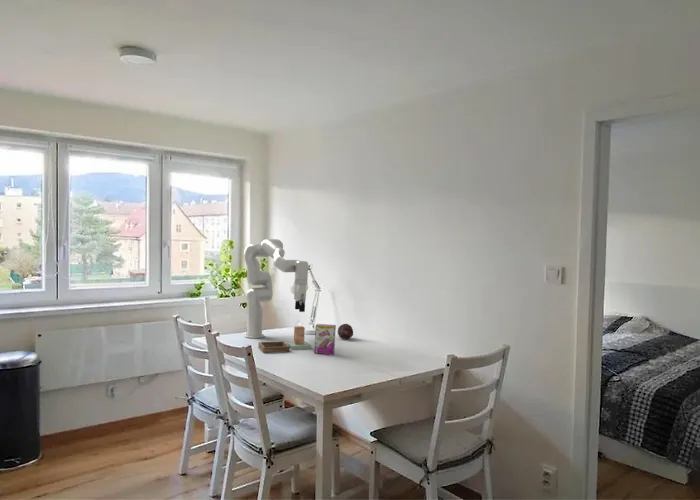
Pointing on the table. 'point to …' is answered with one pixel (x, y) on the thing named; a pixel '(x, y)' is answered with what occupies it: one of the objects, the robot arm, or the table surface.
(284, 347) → the brown wooden tray
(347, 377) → the table surface
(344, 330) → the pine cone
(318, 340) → the candy bar box
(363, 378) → the table surface
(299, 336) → the wooden block
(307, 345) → the green board
